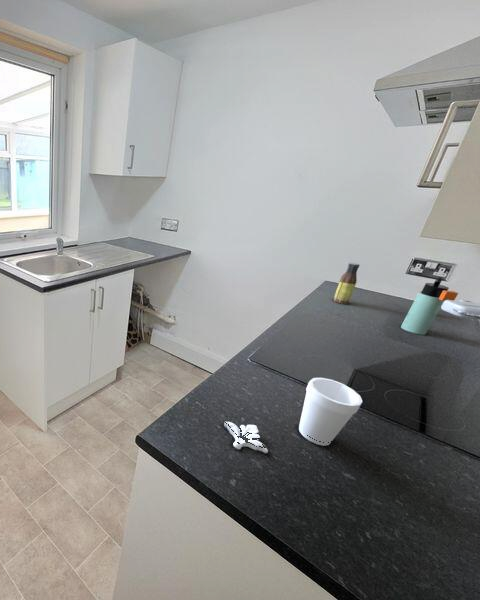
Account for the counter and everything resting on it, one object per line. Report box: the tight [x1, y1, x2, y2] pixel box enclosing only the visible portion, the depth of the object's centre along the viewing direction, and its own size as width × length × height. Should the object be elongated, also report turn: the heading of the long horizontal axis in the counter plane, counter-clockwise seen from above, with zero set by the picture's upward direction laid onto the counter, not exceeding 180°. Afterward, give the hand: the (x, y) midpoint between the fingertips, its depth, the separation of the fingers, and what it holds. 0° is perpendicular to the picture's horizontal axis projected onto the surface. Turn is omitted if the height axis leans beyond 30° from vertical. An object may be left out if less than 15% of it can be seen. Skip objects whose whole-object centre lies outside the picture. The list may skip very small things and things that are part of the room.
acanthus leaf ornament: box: [223, 421, 269, 454], centre depth 71 cm, size 8×7×2 cm
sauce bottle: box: [333, 262, 361, 305], centre depth 153 cm, size 7×6×20 cm
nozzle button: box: [439, 290, 459, 301], centre depth 118 cm, size 2×4×4 cm, turn 77°
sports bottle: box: [400, 276, 450, 336], centre depth 126 cm, size 8×8×23 cm
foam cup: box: [298, 377, 363, 446], centre depth 71 cm, size 10×9×13 cm
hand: (463, 302), depth 112 cm, fingers closed
